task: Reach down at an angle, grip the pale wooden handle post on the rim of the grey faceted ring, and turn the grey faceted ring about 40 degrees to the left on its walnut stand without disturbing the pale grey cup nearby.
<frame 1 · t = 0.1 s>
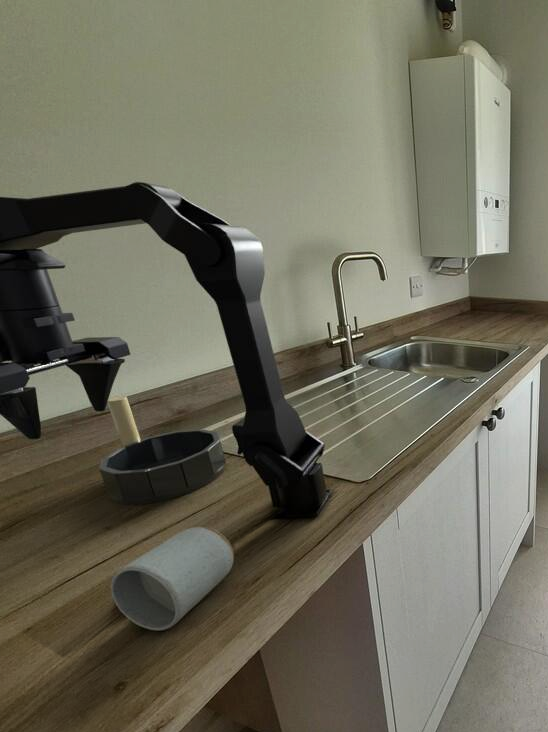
hand: (70, 423, 55), 15 cm above the table, tool pointing down, fingers open, 9 cm apart
grey faceted ring: (157, 441, 66), point 8 cm above the table, hinge at 0.0°
pale grey cup: (175, 601, 45), on the table
stand: (174, 484, 68), on the table
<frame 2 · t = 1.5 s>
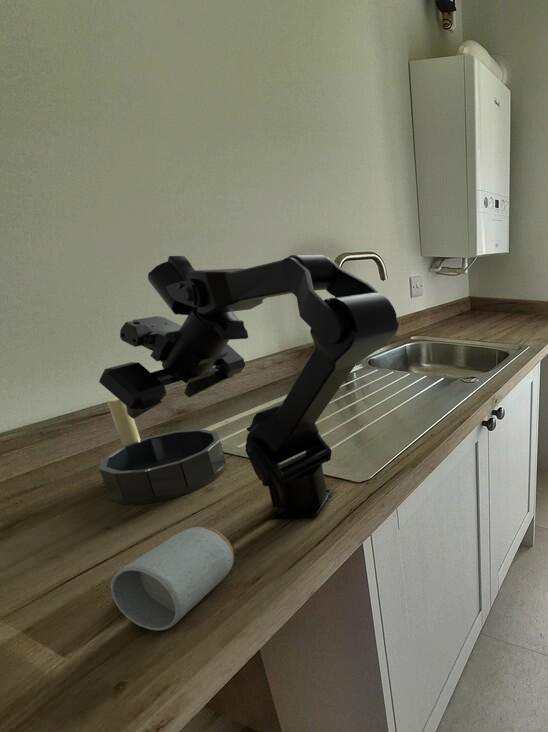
hand: (161, 404, 65), 13 cm above the table, tool tilted 45°, fingers open, 9 cm apart
nothing on the table moved.
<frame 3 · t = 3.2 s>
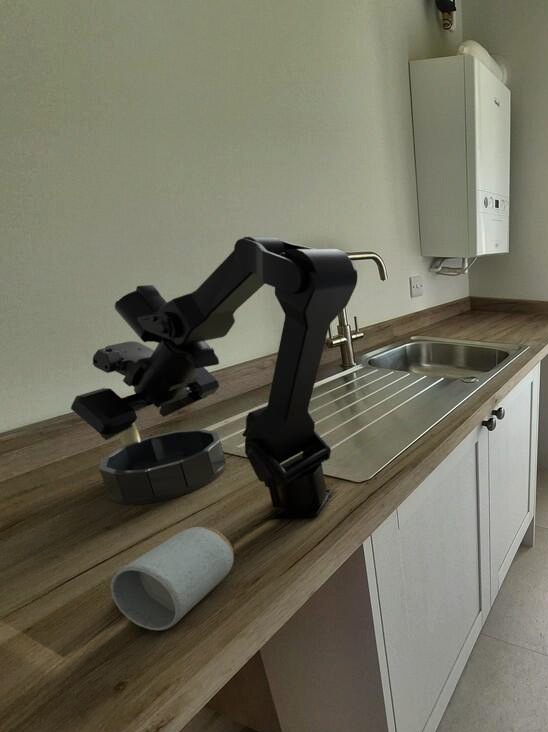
hand: (135, 425, 68), 9 cm above the table, tool tilted 45°, fingers open, 9 cm apart
nothing on the table moved.
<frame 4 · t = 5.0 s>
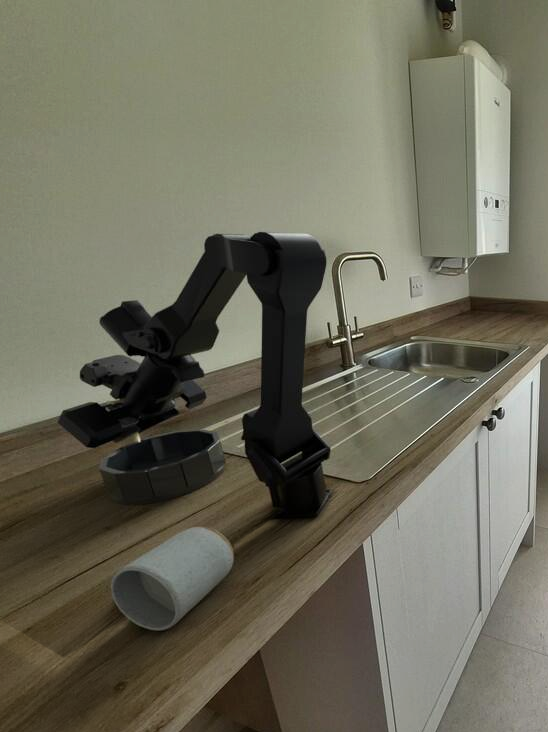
hand: (123, 437, 69), 7 cm above the table, tool tilted 45°, fingers closed on grey faceted ring, 2 cm apart
grey faceted ring: (157, 441, 66), point 8 cm above the table, hinge at 0.0°, touching gripper
everything else where it was.
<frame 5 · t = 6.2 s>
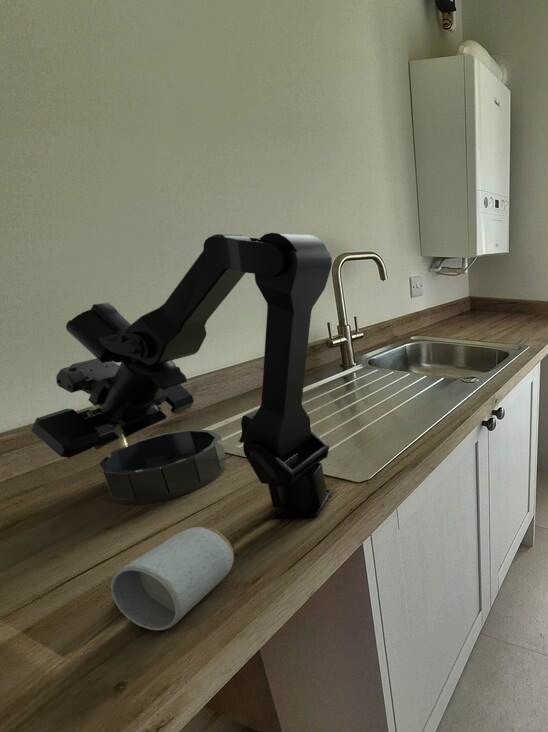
hand: (107, 442, 67), 7 cm above the table, tool tilted 45°, fingers open, 3 cm apart
grey faceted ring: (155, 442, 66), point 8 cm above the table, hinge at 13.0°, touching gripper
everything else where it was.
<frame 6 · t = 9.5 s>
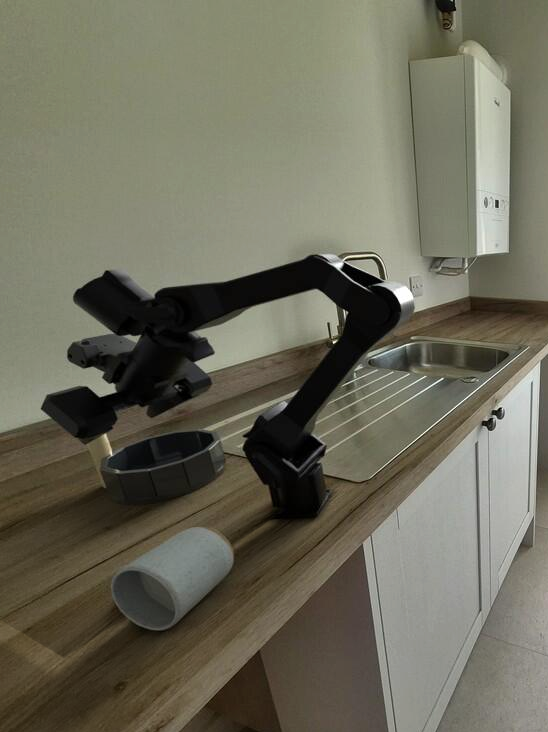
hand: (118, 428, 61), 12 cm above the table, tool tilted 45°, fingers open, 9 cm apart
grey faceted ring: (153, 443, 65), point 8 cm above the table, hinge at 32.1°
everything else where it was.
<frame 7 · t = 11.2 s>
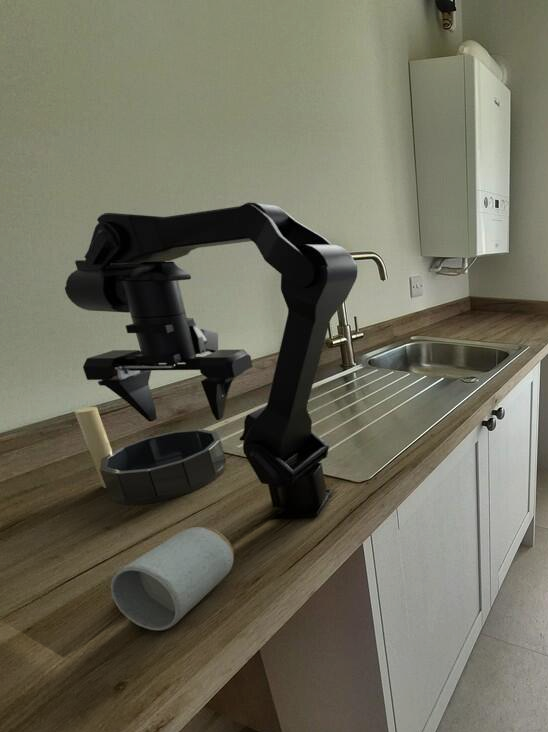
hand: (186, 419, 60), 13 cm above the table, tool pointing down, fingers open, 9 cm apart
nothing on the table moved.
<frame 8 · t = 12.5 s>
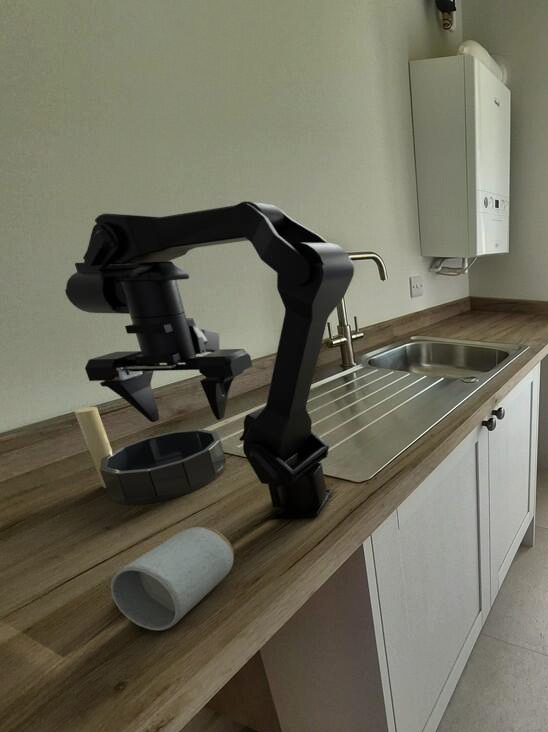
hand: (188, 420, 60), 13 cm above the table, tool pointing down, fingers open, 9 cm apart
nothing on the table moved.
at the end: grey faceted ring at +32° (first picture: +0°); pale grey cup moved 0.2 cm from its start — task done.
